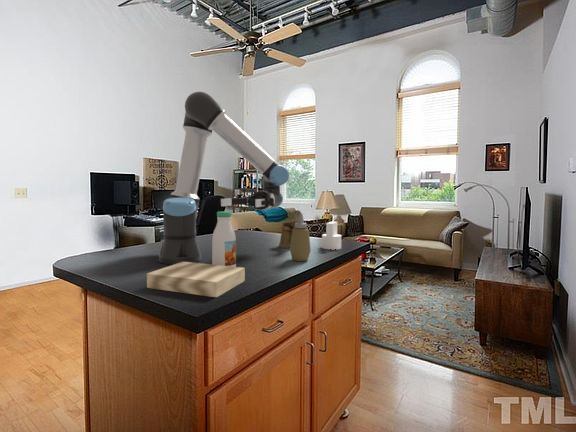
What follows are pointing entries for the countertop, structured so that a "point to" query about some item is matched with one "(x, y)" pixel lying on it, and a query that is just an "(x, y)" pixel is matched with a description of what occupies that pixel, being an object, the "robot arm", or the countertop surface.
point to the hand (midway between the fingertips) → (238, 202)
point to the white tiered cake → (331, 237)
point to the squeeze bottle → (300, 241)
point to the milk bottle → (224, 241)
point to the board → (196, 278)
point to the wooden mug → (288, 230)
